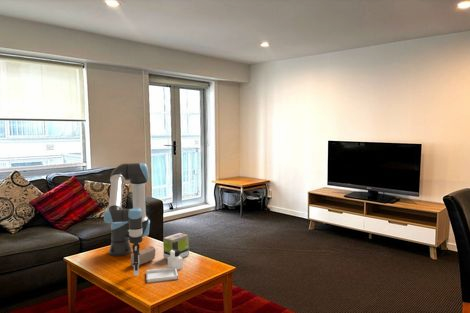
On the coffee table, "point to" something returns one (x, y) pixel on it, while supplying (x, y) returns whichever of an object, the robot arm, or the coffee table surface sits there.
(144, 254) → the brick
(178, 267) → the medicine bottle
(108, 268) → the coffee table surface
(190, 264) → the coffee table surface
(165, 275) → the tray
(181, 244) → the tea box
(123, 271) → the coffee table surface
